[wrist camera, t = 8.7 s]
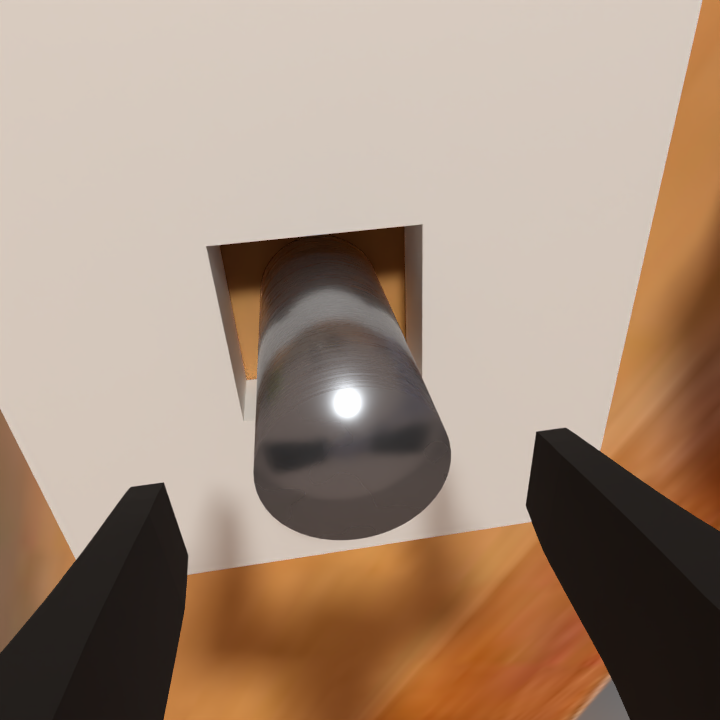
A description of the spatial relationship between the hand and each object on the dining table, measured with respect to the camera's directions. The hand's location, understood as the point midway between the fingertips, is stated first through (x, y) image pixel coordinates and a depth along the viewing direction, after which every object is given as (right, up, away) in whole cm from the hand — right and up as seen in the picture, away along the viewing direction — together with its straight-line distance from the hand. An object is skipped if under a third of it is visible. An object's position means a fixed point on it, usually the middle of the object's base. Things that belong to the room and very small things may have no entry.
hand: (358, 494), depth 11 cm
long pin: (-1, +5, +8) cm, 10 cm away
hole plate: (-1, +5, +8) cm, 9 cm away
